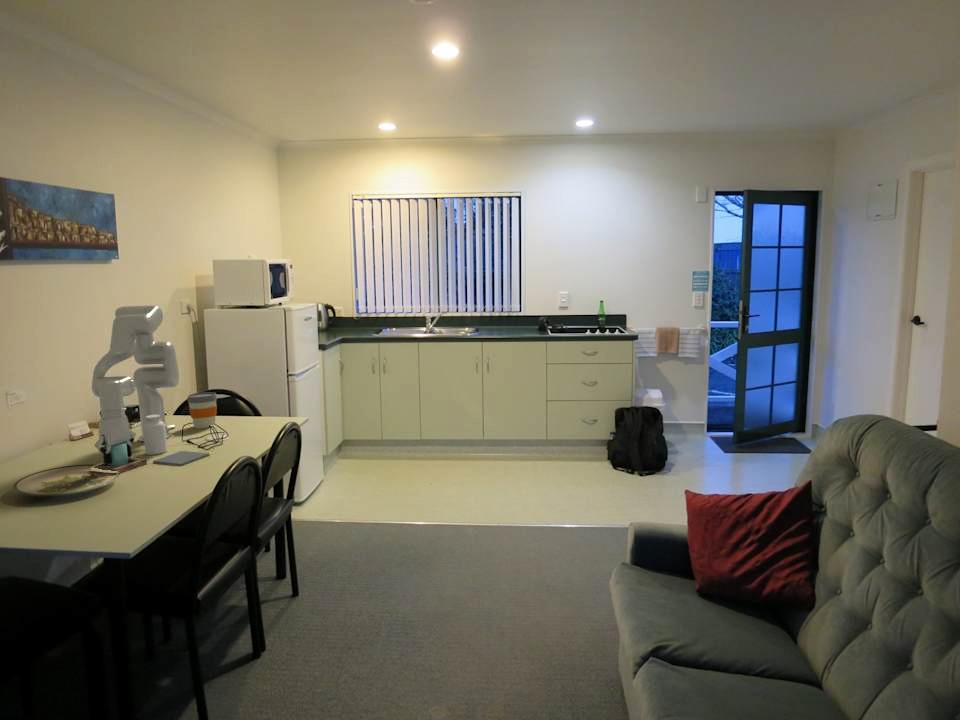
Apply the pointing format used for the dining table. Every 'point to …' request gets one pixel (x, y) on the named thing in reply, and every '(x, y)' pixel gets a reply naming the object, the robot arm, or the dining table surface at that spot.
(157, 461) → the plate
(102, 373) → the robot arm
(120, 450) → the turquoise mug
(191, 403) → the reusable coffee cup
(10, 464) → the dining table surface
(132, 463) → the brown square tray
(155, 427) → the pill bottle
